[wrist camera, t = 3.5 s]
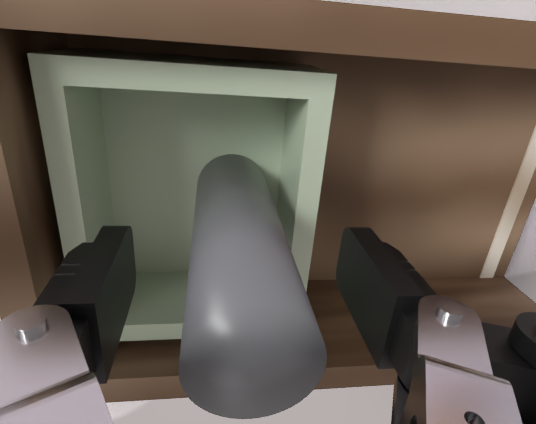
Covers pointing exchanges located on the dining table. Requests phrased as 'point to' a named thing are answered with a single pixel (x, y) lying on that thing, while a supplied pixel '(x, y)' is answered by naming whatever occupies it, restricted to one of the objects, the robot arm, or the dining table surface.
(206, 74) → the box
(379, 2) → the dining table surface
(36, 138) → the bay
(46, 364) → the robot arm
